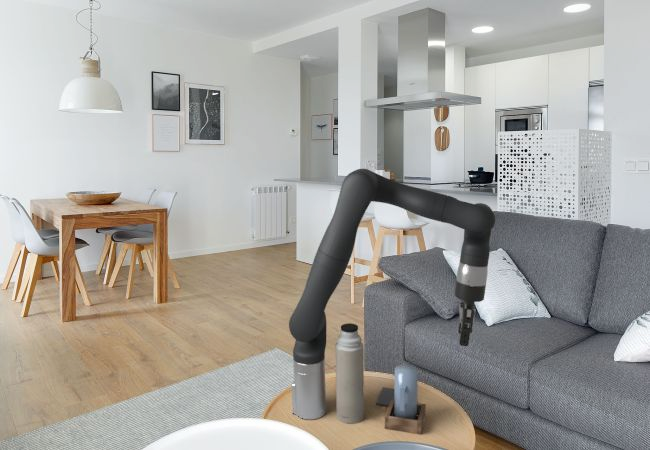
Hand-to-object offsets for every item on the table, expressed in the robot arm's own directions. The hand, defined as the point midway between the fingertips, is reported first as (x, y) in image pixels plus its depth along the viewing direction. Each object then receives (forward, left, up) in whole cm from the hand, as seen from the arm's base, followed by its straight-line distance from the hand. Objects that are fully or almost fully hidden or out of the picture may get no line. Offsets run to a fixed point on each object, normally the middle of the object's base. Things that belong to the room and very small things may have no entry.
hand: (462, 339), depth 137 cm
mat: (-20, +13, -28) cm, 36 cm away
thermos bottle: (-31, 0, -28) cm, 42 cm away
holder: (-15, +1, -28) cm, 31 cm away
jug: (-15, 0, -28) cm, 31 cm away
